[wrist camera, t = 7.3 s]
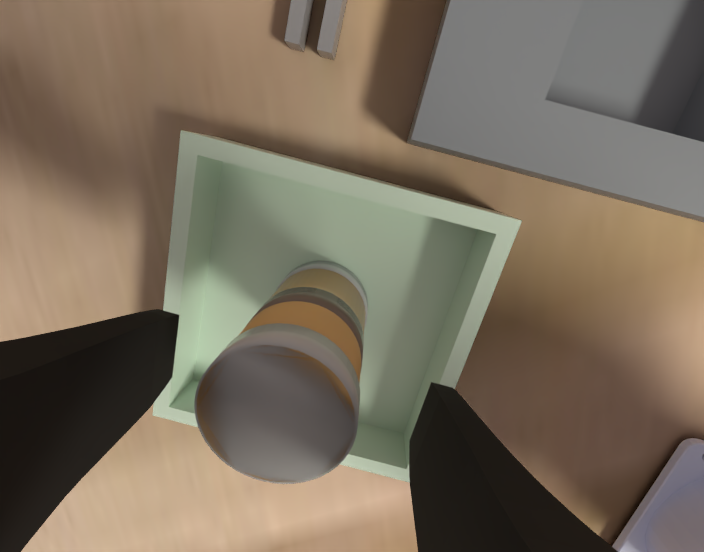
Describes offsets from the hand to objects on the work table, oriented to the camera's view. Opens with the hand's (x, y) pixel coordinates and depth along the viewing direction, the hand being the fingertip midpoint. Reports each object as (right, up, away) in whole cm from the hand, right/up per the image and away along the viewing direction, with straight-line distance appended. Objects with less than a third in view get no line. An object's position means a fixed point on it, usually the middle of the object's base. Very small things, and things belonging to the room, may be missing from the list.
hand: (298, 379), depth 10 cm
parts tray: (0, +2, +5) cm, 6 cm away
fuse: (0, +2, +5) cm, 5 cm away
